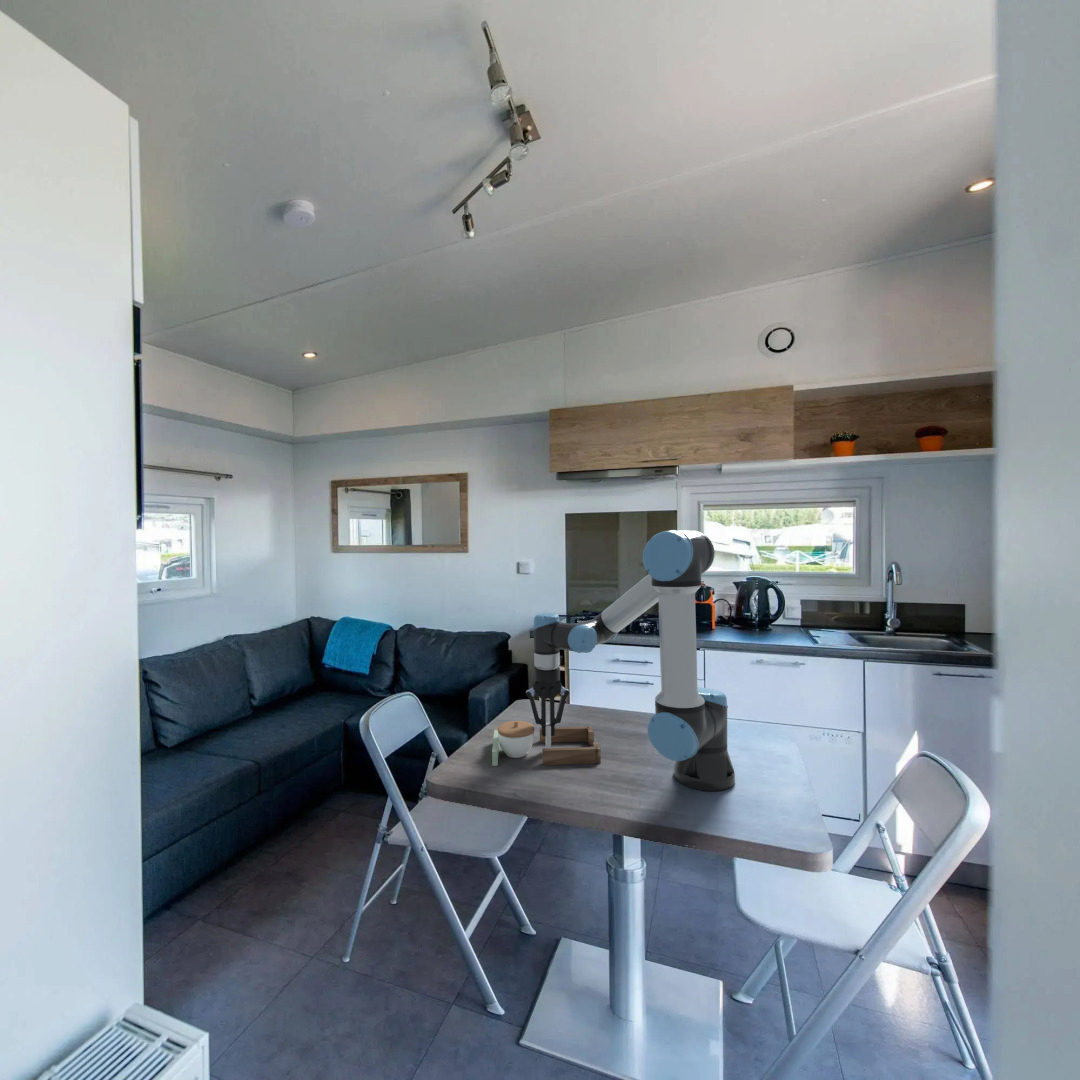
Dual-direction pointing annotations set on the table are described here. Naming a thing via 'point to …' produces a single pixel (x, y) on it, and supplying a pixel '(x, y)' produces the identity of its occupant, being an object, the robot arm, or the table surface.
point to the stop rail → (495, 749)
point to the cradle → (571, 754)
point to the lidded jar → (516, 738)
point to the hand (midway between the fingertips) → (548, 746)
